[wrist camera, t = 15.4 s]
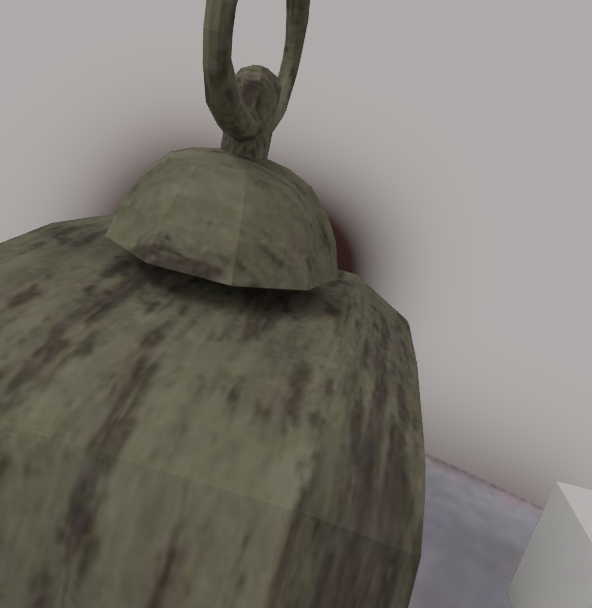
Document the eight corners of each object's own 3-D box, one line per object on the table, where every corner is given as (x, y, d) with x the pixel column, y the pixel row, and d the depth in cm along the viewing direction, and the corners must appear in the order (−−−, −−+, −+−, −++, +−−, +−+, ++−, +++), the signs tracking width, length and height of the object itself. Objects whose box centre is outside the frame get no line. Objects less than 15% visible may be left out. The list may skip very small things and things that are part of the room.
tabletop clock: (105, 577, 26) (199, -30, 18) (296, 638, 25) (482, 34, 17) (-214, 1085, 12) (-413, -570, 4) (190, 1248, 11) (866, -353, 3)
